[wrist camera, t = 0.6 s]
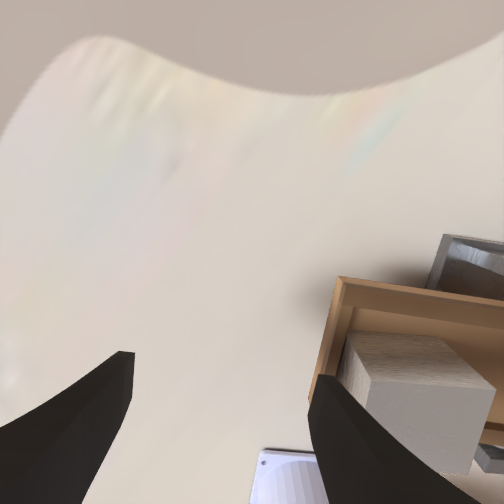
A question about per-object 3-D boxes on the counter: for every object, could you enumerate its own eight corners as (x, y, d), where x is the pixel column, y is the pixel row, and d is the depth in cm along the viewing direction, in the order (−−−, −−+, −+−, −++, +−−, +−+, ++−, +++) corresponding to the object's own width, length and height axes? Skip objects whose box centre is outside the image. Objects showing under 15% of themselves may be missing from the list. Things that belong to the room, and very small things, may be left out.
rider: (419, 404, 17) (467, 474, 13) (331, 398, 17) (353, 465, 13) (437, 336, 16) (496, 389, 12) (343, 329, 16) (371, 380, 12)
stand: (460, 393, 25) (551, 484, 18) (393, 386, 24) (458, 477, 17) (520, 245, 21) (662, 283, 14) (443, 233, 21) (550, 267, 14)
